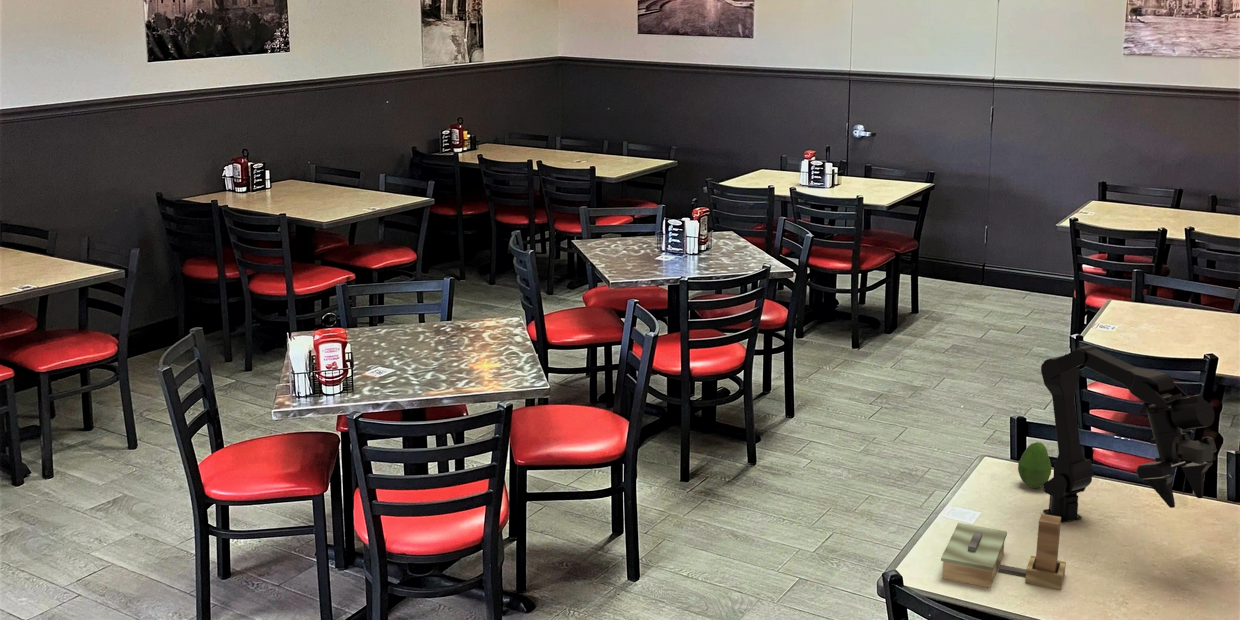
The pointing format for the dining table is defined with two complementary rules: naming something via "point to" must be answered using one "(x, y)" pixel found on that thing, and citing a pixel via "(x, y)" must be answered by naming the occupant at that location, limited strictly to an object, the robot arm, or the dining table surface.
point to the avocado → (1035, 465)
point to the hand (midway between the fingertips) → (1186, 502)
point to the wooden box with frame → (988, 559)
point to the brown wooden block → (1048, 543)
